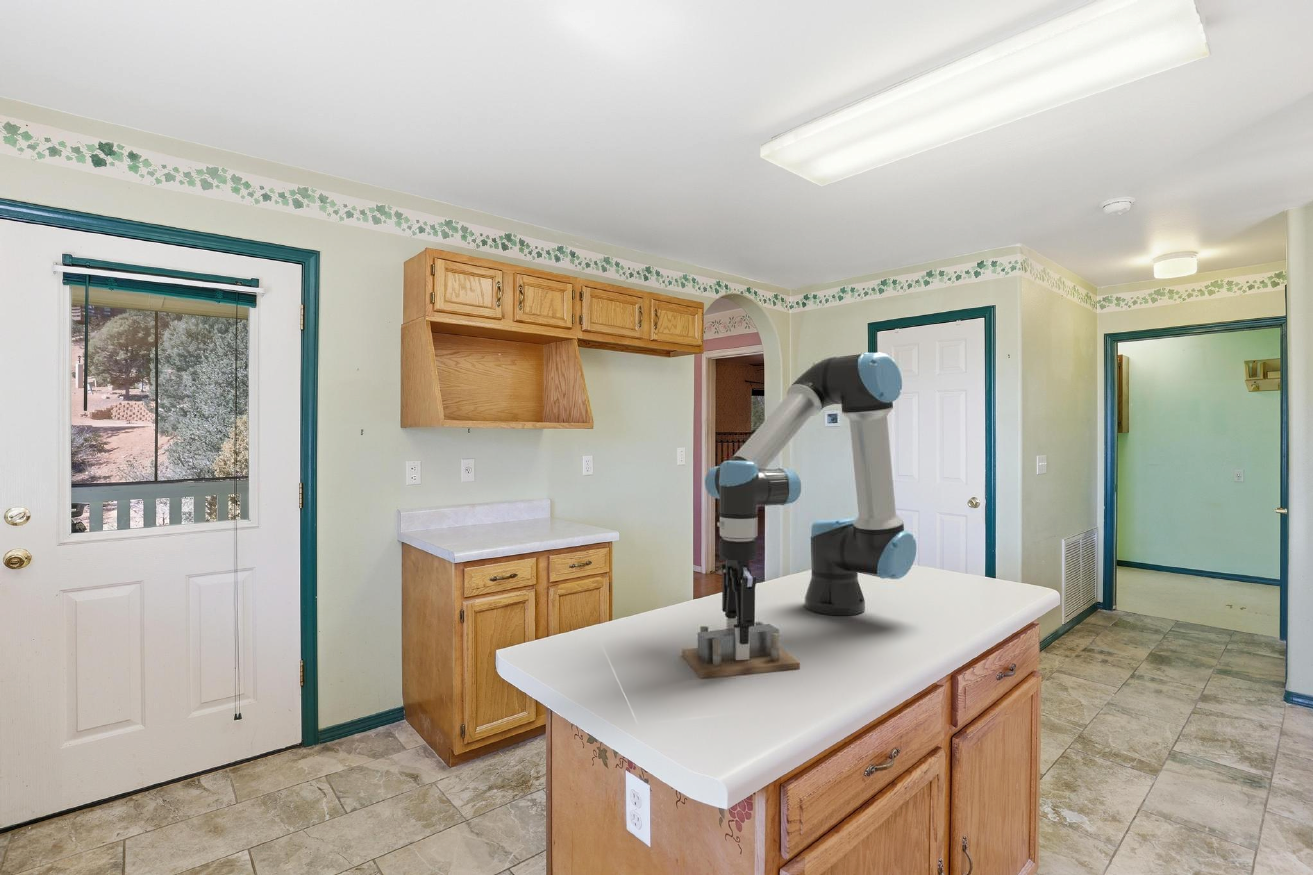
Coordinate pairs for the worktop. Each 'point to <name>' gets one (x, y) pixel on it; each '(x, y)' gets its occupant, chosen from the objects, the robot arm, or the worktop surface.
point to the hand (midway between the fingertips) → (737, 654)
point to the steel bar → (757, 643)
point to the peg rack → (739, 667)
